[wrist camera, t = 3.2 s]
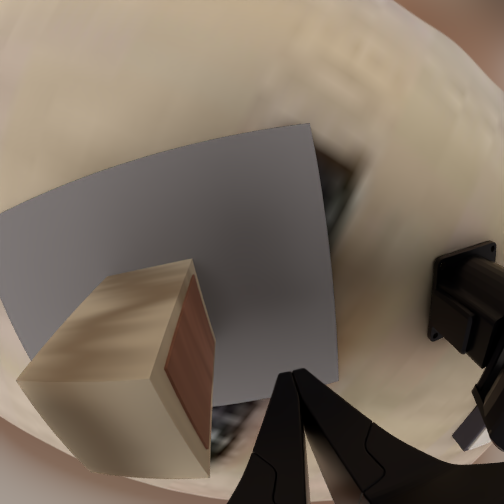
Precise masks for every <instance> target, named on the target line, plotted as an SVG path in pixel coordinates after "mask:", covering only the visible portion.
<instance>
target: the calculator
mask: <svg viewBox="0 0 504 504" xmlns="http://www.w3.org/2000/svg"><path fill="white" fill-rule="evenodd" d="M452 437H453V438H454V439H455V440H456V442H457V443H458V444H459V446H460V447H461V448H462V450H463V451H467V450H471V449H474V448H477V447H479V446H482V445H484V444H487V443H489V442H492V441H491V440H490V438H489V434H488V432H487V429H486V426H485V424H484V421H483V418H482V416H481V413H480V411H479V408H478V406H477V407H476V408H475V409H474V411H472V412H471V413H470V414H469V415H468V417H467V418H466V419H465V420H464V422H463V423H462V424H461V425H460V426H459V428H458V429H457V430H456V431H455V432H454V433H453V435H452Z"/></svg>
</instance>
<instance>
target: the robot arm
mask: <svg viewBox="0 0 504 504" xmlns="http://www.w3.org/2000/svg"><path fill="white" fill-rule="evenodd" d="M495 257H496V243H495V242H493V241H488V242H485V243H482V244H479V245H476V246H473V247H469V248H466V249H463V250H460V251H457V252H454V253H450V254H447V255H444V256H440V257H438V258H437V259H436V261H435V263H434V276H433V291H432V303H431V313H430V321H429V329H428V338H429V339H430V340H431V341H436V340H438V339H441V338H443V337H444V338H445V339H446V340H447V341H448V342H449V343H451V344H452V345H453V346H454V347H455V348H456V349H457V350H458V351H459V352H460V353H461V354H465V353H466V354H467V355H468V356H469V357H470V358H471V359H472V360H474V361H475V362H476V363H477V364H478V365H479V366H480V367H481V368H482V369H483V368H485V367H486V368H485V370H484V372H483V374H482V376H481V378H480V380H479V381H478V383H477V384H475V386H474V388H473V390H472V394H473V396H474V399H475V401H476V403H477V406H478V408H479V411H480V413H481V416H482V418H483V421H484V424H485V426H486V429H487V432H488V434H489V438H490V440H491V441H492V442H493V443H494V445H495V446H496V447H497V448H498V449H500V450H501V451H503V452H504V267H503V266H501V265H499V264H497V263H495ZM441 264H442V266H441ZM440 266H441V267H440ZM304 430H305V433H306V436H307V439H308V441H309V444H310V446H311V448H312V451H313V453H314V456H315V458H316V460H317V463H318V465H319V468H320V470H321V472H322V475H323V477H324V480H325V482H326V484H327V487H328V489H329V491H330V494H331V496H332V498H333V501H334V503H335V504H504V462H500V463H489V464H472V465H457V464H451V463H447V462H444V461H441V460H439V459H437V458H434V457H432V456H430V455H428V454H426V453H424V452H422V451H420V450H418V449H416V448H414V447H412V446H410V445H408V444H406V443H405V442H403V441H401V440H399V439H397V438H396V437H394V436H392V435H391V434H389V433H388V432H387V431H385V430H384V429H382V428H381V427H379V426H378V425H377V424H375V423H374V422H373V423H372V421H371V420H370V419H369V418H367V417H366V416H365V415H363V414H362V413H361V412H359V411H358V410H357V409H356V408H354V407H353V406H352V405H350V404H349V403H348V402H346V401H345V400H344V399H343V398H341V397H340V396H339V395H338V394H336V393H335V392H334V391H333V390H331V389H330V388H329V387H328V386H326V385H325V384H324V383H323V382H321V381H320V380H319V379H318V378H316V377H315V376H314V375H313V374H311V373H310V372H309V371H308V370H307V369H305V368H300V369H296V370H293V371H292V372H291V371H287V372H283V373H279V374H278V376H277V379H276V383H275V386H274V389H273V392H272V395H271V398H270V401H269V405H268V408H267V411H266V414H265V417H264V420H263V423H262V426H261V428H260V431H259V434H258V437H257V440H256V443H255V446H254V448H253V453H252V454H251V456H250V459H249V462H248V464H247V467H246V469H245V471H244V474H243V476H242V478H241V480H240V482H239V484H238V486H237V487H236V489H235V491H234V493H233V494H232V496H231V498H230V499H229V501H228V503H227V504H310V491H309V477H308V465H307V453H306V442H305V433H304Z"/></svg>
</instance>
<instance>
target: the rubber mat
mask: <svg viewBox="0 0 504 504" xmlns="http://www.w3.org/2000/svg"><path fill="white" fill-rule="evenodd" d="M187 259H192V260H193V263H194V267H195V271H196V274H197V278H198V282H199V285H200V289H201V292H202V296H203V299H204V303H205V306H206V309H207V313H208V316H209V319H210V323H211V326H212V329H213V332H214V336H215V339H216V345H215V361H214V379H213V399H212V407H214V406H222V405H229V404H236V403H242V402H248V401H254V400H259V399H265V398H270V397H271V395H272V392H273V389H274V386H275V383H276V379H277V376H278V374H279V373H283V372H287V371H291V372H292V371H293V370H296V369H300V368H305V369H307V370H308V371H309V372H310V373H311V374H313V375H314V376H315V377H316V378H318V379H319V380H320V381H321V382H323V383H324V384H325V385H326V384H329V383H333V382H336V381H339V379H338V350H337V331H336V315H335V302H334V290H333V279H332V268H331V259H330V250H329V241H328V233H327V225H326V218H325V210H324V203H323V196H322V190H321V183H320V177H319V171H318V165H317V160H316V154H315V148H314V143H313V138H312V133H311V127H310V123H306V124H298V125H291V126H284V127H277V128H271V129H264V130H258V131H253V132H247V133H242V134H237V135H232V136H227V137H222V138H217V139H213V140H208V141H204V142H199V143H195V144H191V145H187V146H183V147H179V148H175V149H171V150H168V151H164V152H160V153H157V154H153V155H150V156H146V157H143V158H140V159H136V160H133V161H130V162H127V163H123V164H120V165H117V166H114V167H111V168H108V169H105V170H102V171H100V172H97V173H94V174H91V175H88V176H86V177H83V178H80V179H78V180H75V181H73V182H70V183H67V184H65V185H62V186H60V187H57V188H55V189H53V190H50V191H48V192H46V193H43V194H41V195H39V196H36V197H34V198H32V199H30V200H28V201H25V202H23V203H21V204H19V205H17V206H15V207H13V208H11V209H9V210H7V211H5V212H3V213H1V214H0V298H1V301H2V303H3V305H4V308H5V310H6V312H7V315H8V317H9V319H10V321H11V323H12V325H13V327H14V330H15V332H16V334H17V336H18V338H19V340H20V341H21V343H22V345H23V347H24V349H25V351H26V353H27V355H28V356H29V358H30V360H31V361H32V359H33V358H34V357H35V356H36V354H37V353H38V352H39V351H40V350H41V348H42V347H43V346H44V345H45V344H46V343H47V341H48V340H49V339H50V338H51V337H52V336H53V334H54V333H55V332H56V331H57V330H58V329H59V327H60V326H61V325H62V324H63V323H64V322H65V321H66V320H67V318H68V317H69V316H70V315H71V314H72V313H73V312H74V311H75V310H76V309H77V307H78V306H79V305H80V304H81V303H82V302H83V301H84V300H85V299H86V298H87V297H88V296H89V295H90V294H91V293H92V292H93V290H94V289H95V288H96V287H97V286H98V285H99V284H100V283H101V282H102V281H103V280H104V279H105V278H106V277H107V276H112V275H116V274H121V273H126V272H130V271H135V270H140V269H144V268H149V267H154V266H158V265H163V264H168V263H173V262H177V261H182V260H187Z"/></svg>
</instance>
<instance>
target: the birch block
mask: <svg viewBox="0 0 504 504" xmlns="http://www.w3.org/2000/svg"><path fill="white" fill-rule="evenodd" d="M215 345H216V339H215V336H214V332H213V329H212V326H211V323H210V319H209V316H208V313H207V309H206V306H205V303H204V299H203V296H202V292H201V289H200V285H199V282H198V278H197V274H196V271H195V267H194V263H193V260H192V259H187V260H182V261H177V262H173V263H168V264H163V265H158V266H154V267H149V268H144V269H140V270H135V271H130V272H126V273H121V274H116V275H112V276H107V277H106V278H105V279H104V280H103V281H102V282H101V283H100V284H99V285H98V286H97V287H96V288H95V289H94V290H93V292H92V293H91V294H90V295H89V296H88V297H87V298H86V299H85V300H84V301H83V302H82V303H81V304H80V305H79V306H78V307H77V309H76V310H75V311H74V312H73V313H72V314H71V315H70V316H69V317H68V318H67V320H66V321H65V322H64V323H63V324H62V325H61V326H60V327H59V329H58V330H57V331H56V332H55V333H54V334H53V336H52V337H51V338H50V339H49V340H48V341H47V343H46V344H45V345H44V346H43V347H42V348H41V350H40V351H39V352H38V353H37V354H36V356H35V357H34V358H33V359H32V361H31V362H30V363H29V364H28V366H27V367H26V368H25V369H24V371H23V372H22V373H21V374H20V376H19V377H18V378H17V380H16V381H17V383H18V384H19V386H20V387H21V389H22V390H23V392H24V393H25V395H26V396H27V398H28V399H29V401H30V402H31V403H32V405H33V406H34V408H35V409H36V410H37V412H38V413H39V414H40V416H41V417H42V418H43V419H44V421H45V422H46V423H47V425H48V426H49V427H50V428H51V430H52V431H53V432H54V433H55V434H56V436H57V437H58V438H59V439H60V440H61V441H62V442H63V444H64V445H65V446H66V447H67V448H68V449H69V450H70V451H71V452H72V454H73V455H74V456H75V457H76V458H77V459H78V460H79V461H80V462H81V463H82V464H83V465H84V466H85V467H86V468H87V469H88V470H89V471H90V472H93V473H100V474H107V475H115V476H125V477H137V478H156V479H197V478H210V448H211V421H212V399H213V379H214V361H215Z"/></svg>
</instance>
